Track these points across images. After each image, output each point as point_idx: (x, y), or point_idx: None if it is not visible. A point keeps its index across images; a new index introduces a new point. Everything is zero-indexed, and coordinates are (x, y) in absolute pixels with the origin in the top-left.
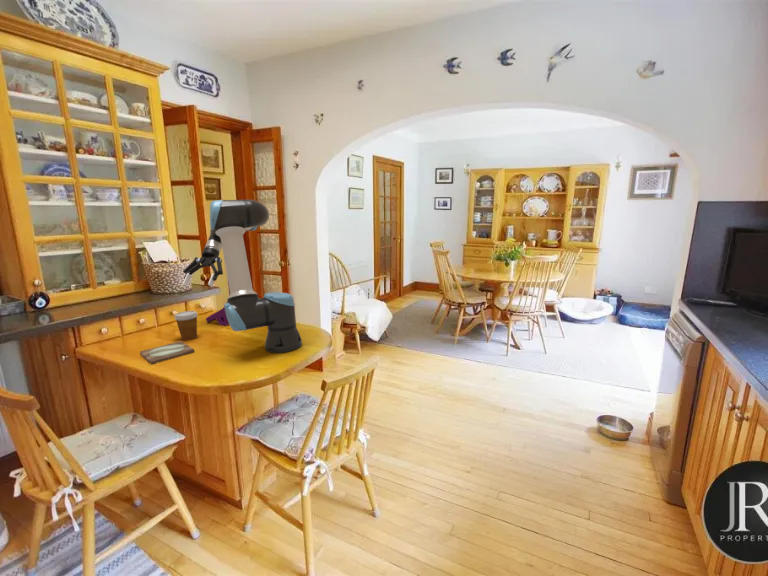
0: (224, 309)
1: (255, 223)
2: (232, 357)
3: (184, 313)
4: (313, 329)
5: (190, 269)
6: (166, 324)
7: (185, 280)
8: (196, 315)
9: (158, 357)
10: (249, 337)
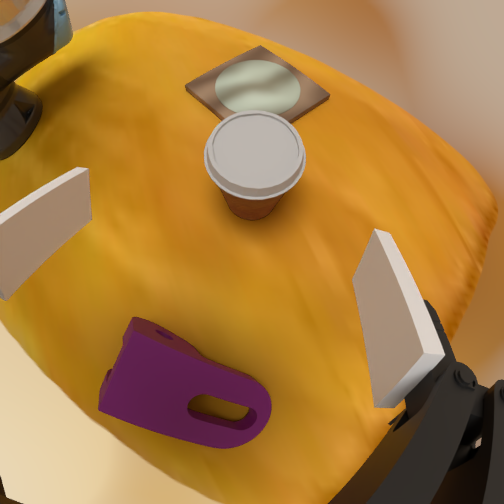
0: (131, 332)
1: None
2: (99, 72)
3: (270, 161)
4: None
5: (441, 437)
6: None
7: (387, 259)
8: (205, 153)
9: (255, 57)
10: None
